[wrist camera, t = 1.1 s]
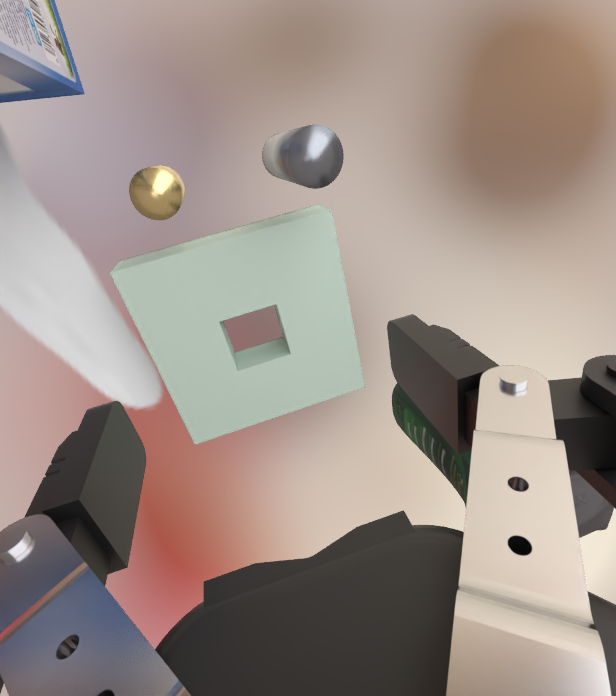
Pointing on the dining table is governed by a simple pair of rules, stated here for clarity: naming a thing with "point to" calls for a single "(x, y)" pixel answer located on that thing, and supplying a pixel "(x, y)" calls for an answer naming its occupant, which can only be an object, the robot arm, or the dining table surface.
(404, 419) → the coffee jar
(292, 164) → the long pin
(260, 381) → the hole block
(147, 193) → the short pin
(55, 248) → the dining table surface
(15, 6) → the milk carton
